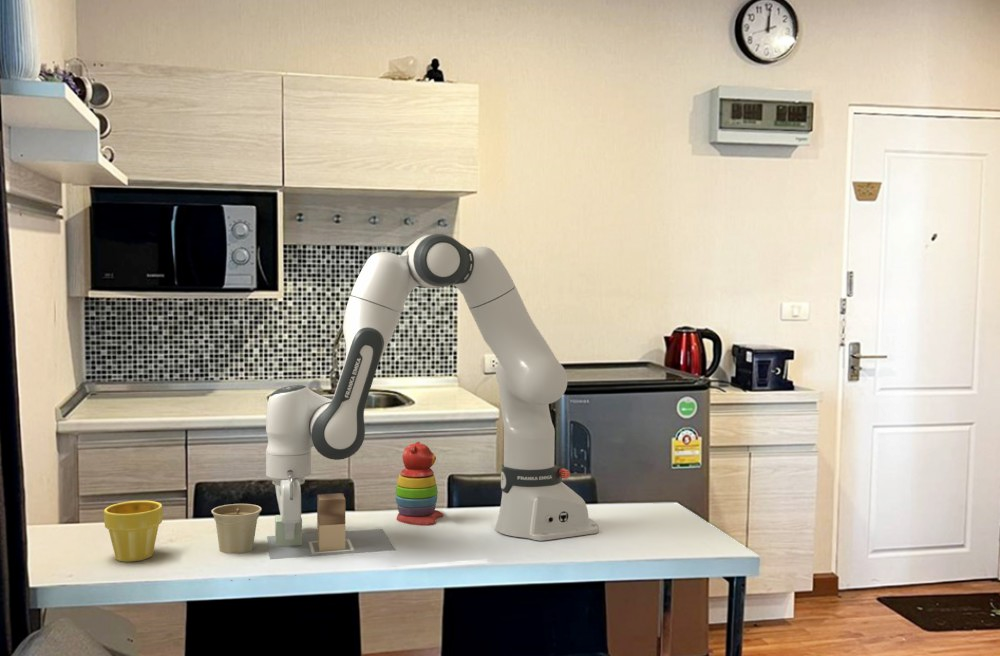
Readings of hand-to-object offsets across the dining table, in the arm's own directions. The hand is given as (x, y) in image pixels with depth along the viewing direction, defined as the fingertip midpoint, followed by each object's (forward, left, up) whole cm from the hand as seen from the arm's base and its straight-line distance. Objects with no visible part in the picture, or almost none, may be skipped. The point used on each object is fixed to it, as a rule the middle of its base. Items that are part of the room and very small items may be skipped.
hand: (288, 534), depth 179 cm
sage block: (0, 0, -2) cm, 2 cm away
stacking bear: (-29, -12, -3) cm, 32 cm away
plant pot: (+29, 0, -3) cm, 29 cm away
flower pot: (+10, +2, -3) cm, 11 cm away
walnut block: (-8, +5, +3) cm, 10 cm away
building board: (-8, +2, -2) cm, 9 cm away
